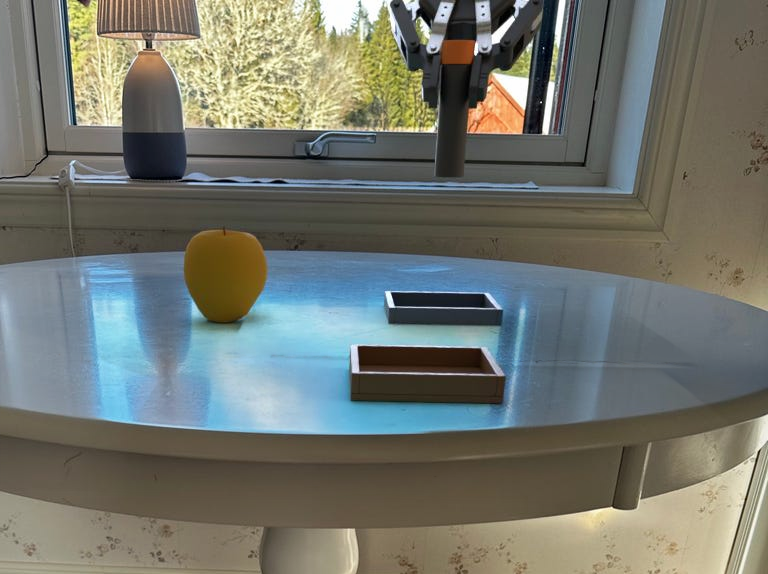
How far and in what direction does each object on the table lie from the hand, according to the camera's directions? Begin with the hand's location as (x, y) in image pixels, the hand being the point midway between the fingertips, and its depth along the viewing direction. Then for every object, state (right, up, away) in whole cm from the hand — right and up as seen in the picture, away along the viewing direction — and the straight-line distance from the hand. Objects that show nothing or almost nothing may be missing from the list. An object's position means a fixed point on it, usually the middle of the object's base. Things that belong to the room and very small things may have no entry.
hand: (452, 99), depth 81 cm
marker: (0, -4, +5) cm, 6 cm away
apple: (-20, -13, +18) cm, 30 cm away
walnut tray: (-4, -26, -6) cm, 27 cm away
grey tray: (+2, -12, +18) cm, 22 cm away
